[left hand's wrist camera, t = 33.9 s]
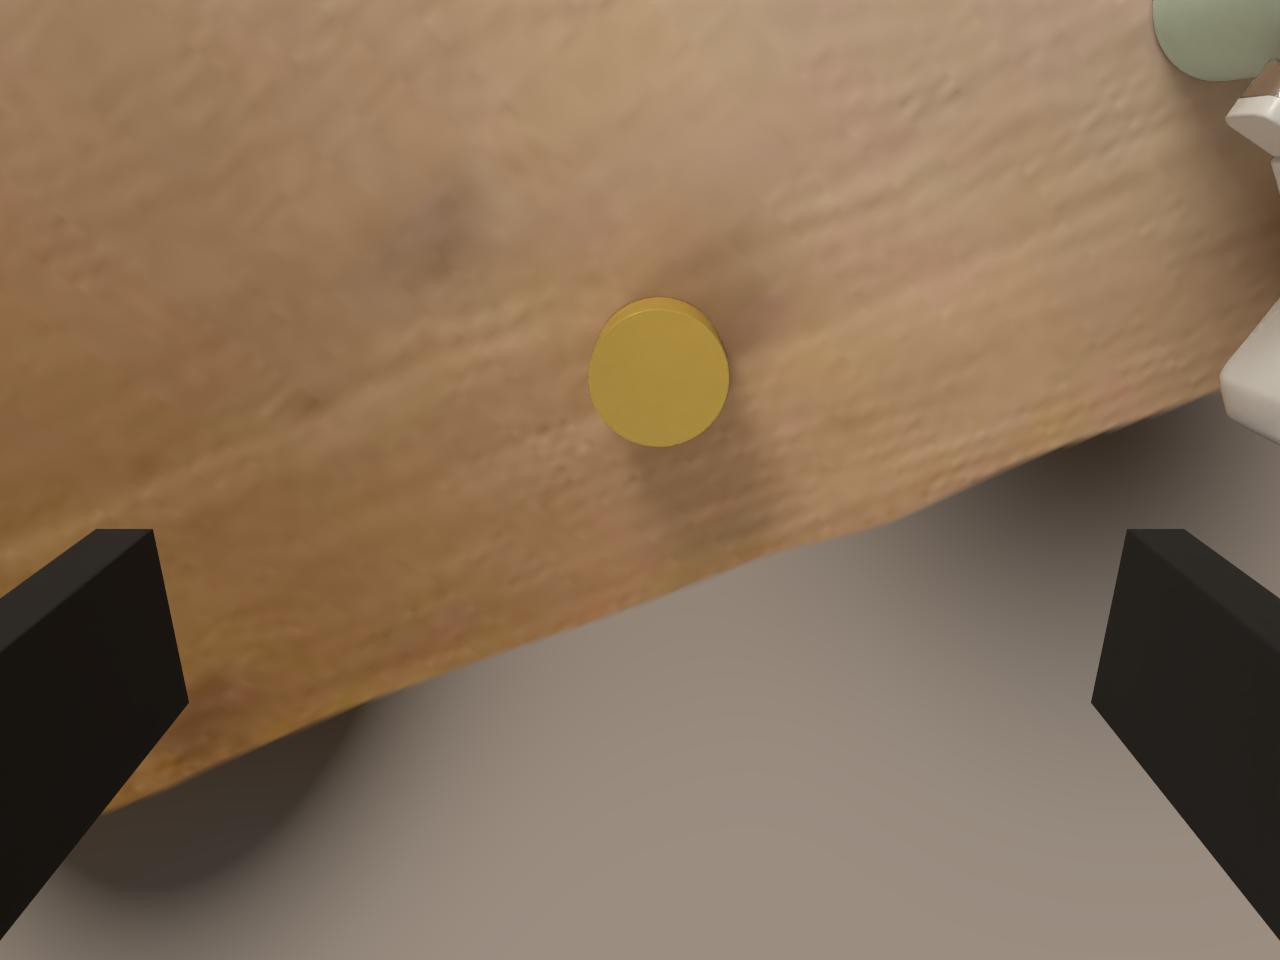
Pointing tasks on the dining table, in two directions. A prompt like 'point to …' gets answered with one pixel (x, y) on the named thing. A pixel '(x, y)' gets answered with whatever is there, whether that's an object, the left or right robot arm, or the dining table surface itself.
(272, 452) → the dining table surface
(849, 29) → the dining table surface
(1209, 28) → the bottle
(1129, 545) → the left robot arm
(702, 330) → the cap
